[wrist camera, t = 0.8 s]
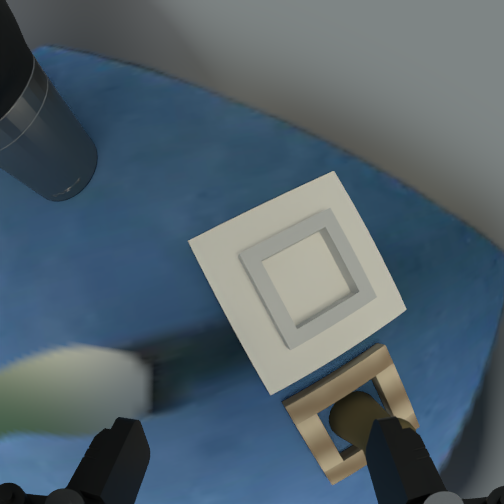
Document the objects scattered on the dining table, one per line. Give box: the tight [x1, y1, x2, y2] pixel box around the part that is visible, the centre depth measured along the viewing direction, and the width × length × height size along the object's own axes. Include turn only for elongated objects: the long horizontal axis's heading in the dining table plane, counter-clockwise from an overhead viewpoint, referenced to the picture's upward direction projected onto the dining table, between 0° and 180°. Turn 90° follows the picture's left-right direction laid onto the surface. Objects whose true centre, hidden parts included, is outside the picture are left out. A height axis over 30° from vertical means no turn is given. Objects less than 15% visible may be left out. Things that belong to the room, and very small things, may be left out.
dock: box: [188, 171, 407, 395], centre depth 33 cm, size 18×18×3 cm
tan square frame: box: [282, 343, 420, 485], centre depth 31 cm, size 13×13×2 cm
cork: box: [329, 391, 416, 457], centre depth 27 cm, size 6×6×11 cm
